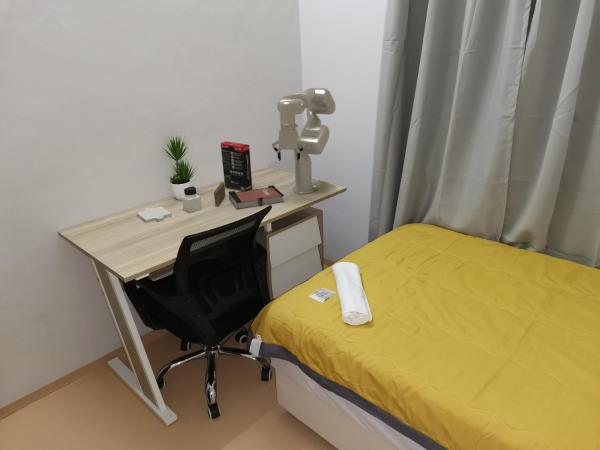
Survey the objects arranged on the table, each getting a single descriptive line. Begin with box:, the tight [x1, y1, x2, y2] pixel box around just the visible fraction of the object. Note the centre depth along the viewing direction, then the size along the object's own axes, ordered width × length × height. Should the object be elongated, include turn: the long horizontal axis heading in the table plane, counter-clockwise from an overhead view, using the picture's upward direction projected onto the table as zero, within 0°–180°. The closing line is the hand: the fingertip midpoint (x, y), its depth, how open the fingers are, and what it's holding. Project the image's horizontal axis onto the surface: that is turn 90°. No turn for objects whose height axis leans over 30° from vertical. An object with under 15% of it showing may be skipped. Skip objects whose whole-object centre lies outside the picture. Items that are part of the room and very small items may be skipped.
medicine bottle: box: [181, 185, 203, 213], centre depth 207 cm, size 7×7×12 cm
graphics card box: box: [220, 141, 253, 192], centre depth 233 cm, size 17×7×27 cm, turn 58°
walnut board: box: [213, 181, 226, 208], centre depth 218 cm, size 2×17×8 cm, turn 177°
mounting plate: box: [136, 206, 172, 224], centre depth 202 cm, size 18×13×2 cm
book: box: [228, 184, 285, 211], centre depth 218 cm, size 26×18×5 cm
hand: (289, 160), depth 207 cm, fingers open, 9 cm apart
